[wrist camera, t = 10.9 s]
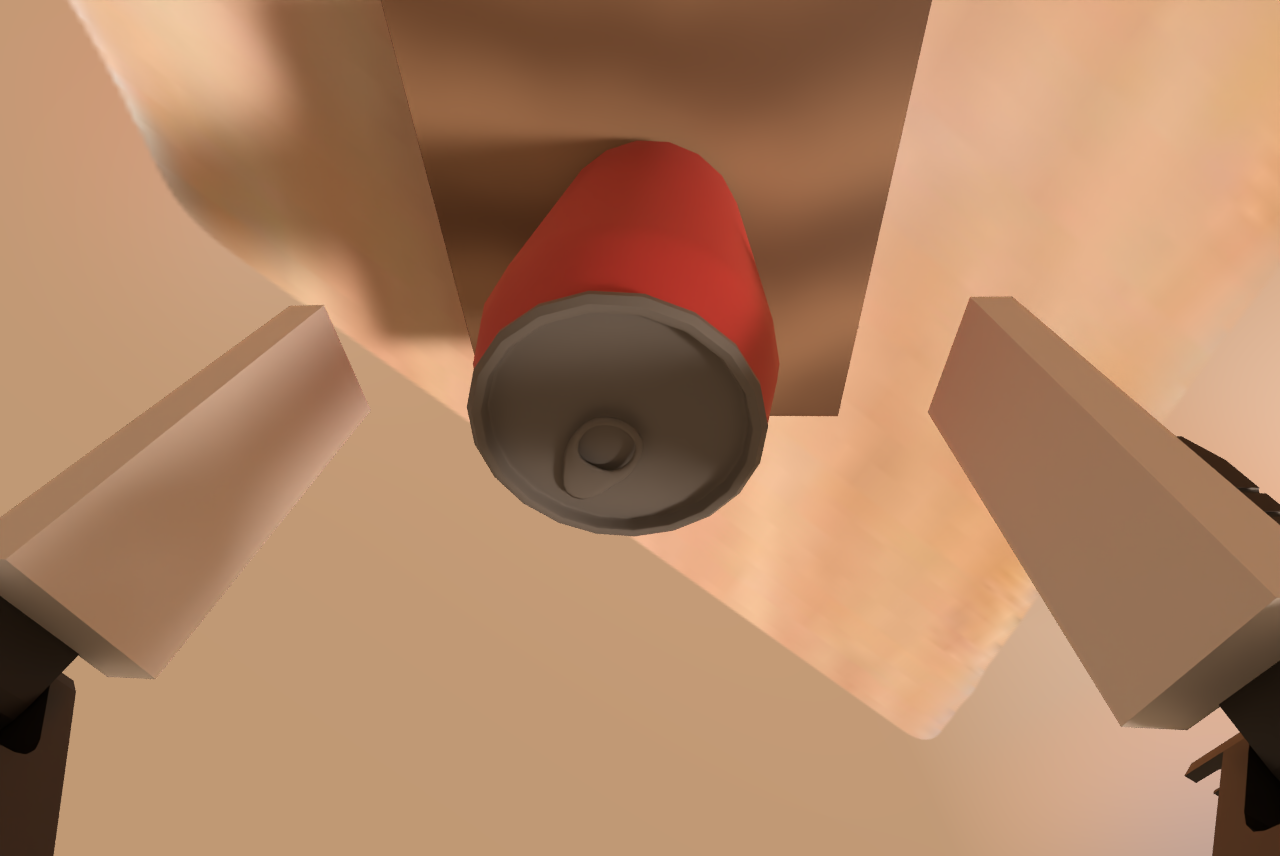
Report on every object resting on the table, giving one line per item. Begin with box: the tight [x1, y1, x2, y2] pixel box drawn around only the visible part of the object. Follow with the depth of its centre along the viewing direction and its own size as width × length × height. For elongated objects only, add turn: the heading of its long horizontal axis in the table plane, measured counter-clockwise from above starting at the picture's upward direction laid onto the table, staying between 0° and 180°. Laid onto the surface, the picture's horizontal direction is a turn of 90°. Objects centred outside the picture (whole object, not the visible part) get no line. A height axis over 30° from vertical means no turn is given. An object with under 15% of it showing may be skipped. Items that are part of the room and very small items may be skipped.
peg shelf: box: [381, 0, 932, 416], centre depth 22 cm, size 16×16×8 cm
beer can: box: [467, 141, 780, 536], centre depth 14 cm, size 7×7×12 cm
